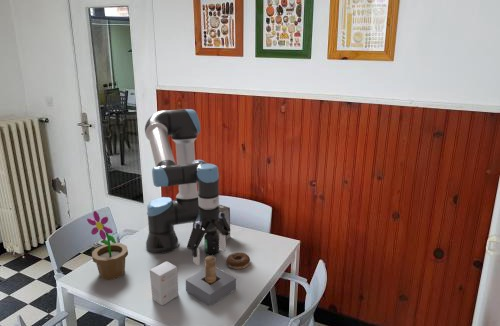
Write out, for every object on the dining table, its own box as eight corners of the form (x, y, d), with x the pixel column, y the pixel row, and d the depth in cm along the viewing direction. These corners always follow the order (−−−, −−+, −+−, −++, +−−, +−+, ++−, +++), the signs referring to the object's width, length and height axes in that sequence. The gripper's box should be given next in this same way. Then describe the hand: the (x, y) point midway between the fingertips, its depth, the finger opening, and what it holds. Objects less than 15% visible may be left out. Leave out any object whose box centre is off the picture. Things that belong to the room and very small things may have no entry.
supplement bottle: (205, 256, 176) (204, 232, 173) (204, 248, 183) (203, 226, 179) (219, 255, 178) (219, 231, 174) (218, 247, 184) (218, 225, 180)
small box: (168, 289, 153) (166, 260, 149) (179, 295, 149) (177, 266, 145) (151, 299, 147) (149, 269, 143) (162, 306, 143) (159, 275, 139)
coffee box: (231, 236, 195) (230, 207, 190) (223, 241, 190) (222, 211, 185) (217, 231, 200) (216, 203, 195) (208, 236, 195) (208, 207, 190)
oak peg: (203, 290, 152) (202, 259, 148) (211, 285, 156) (210, 254, 151) (210, 294, 150) (209, 263, 145) (218, 289, 153) (217, 258, 149)
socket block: (186, 290, 152) (185, 279, 151) (212, 275, 162) (211, 265, 161) (210, 306, 143) (209, 294, 142) (236, 289, 153) (236, 278, 152)
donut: (247, 272, 165) (247, 264, 164) (223, 269, 167) (223, 261, 166) (252, 259, 175) (252, 251, 174) (229, 256, 177) (229, 248, 176)
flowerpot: (86, 278, 160) (77, 211, 151) (110, 260, 173) (103, 198, 164) (114, 285, 155) (106, 217, 146) (136, 267, 168) (130, 203, 159)
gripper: (189, 220, 131) (191, 273, 137) (239, 198, 148) (239, 247, 155) (175, 213, 135) (178, 265, 142) (225, 193, 153) (226, 240, 160)
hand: (210, 256), depth 148 cm, fingers open, 13 cm apart
